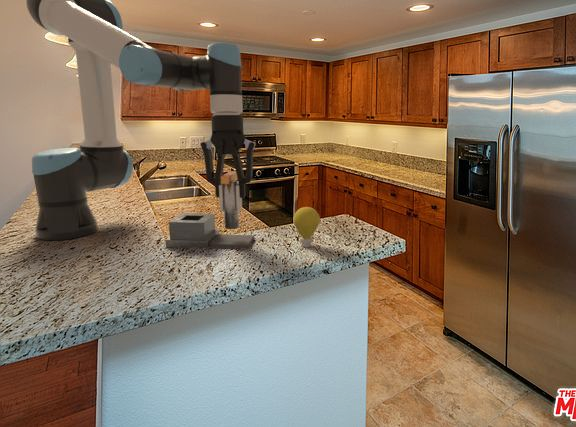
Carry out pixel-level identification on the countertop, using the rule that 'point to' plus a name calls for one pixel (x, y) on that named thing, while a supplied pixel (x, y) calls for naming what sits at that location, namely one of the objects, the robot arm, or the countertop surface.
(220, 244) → the mat
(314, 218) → the light bulb
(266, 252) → the countertop surface
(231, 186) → the key
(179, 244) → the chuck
